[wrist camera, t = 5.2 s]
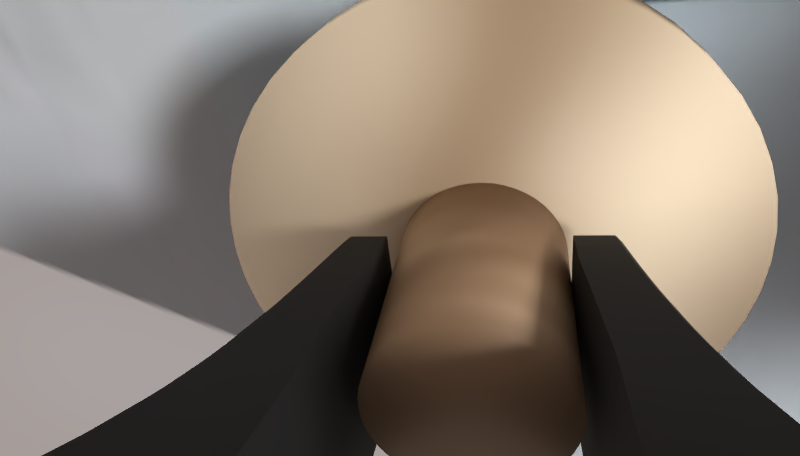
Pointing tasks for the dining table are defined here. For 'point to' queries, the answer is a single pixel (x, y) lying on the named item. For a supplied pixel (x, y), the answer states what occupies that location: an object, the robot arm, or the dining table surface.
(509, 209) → the lid
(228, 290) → the dining table surface
